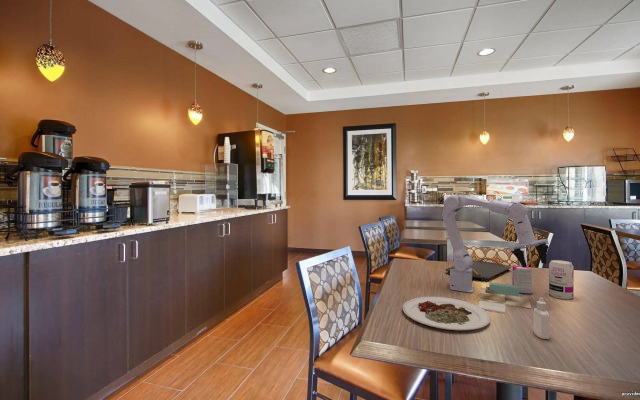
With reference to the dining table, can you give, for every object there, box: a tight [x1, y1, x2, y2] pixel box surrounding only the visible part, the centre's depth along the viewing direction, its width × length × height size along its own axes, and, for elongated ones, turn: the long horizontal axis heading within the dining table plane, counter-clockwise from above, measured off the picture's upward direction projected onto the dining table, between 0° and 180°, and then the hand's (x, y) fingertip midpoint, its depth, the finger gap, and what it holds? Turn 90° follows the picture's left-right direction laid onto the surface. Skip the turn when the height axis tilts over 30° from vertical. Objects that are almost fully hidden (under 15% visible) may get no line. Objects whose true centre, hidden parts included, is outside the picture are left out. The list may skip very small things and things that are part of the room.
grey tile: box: [477, 300, 506, 315], centre depth 117 cm, size 9×9×1 cm
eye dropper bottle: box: [532, 297, 551, 340], centre depth 94 cm, size 4×6×12 cm
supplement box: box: [511, 265, 533, 295], centre depth 134 cm, size 6×6×12 cm
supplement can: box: [548, 259, 575, 301], centre depth 127 cm, size 8×8×15 cm
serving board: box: [445, 257, 512, 283], centre depth 168 cm, size 39×23×6 cm, turn 129°
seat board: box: [478, 286, 532, 310], centre depth 125 cm, size 18×12×4 cm, turn 58°
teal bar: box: [488, 281, 520, 297], centre depth 125 cm, size 10×4×4 cm, turn 58°
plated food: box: [402, 296, 491, 331], centre depth 111 cm, size 30×30×3 cm
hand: (534, 265), depth 120 cm, fingers open, 7 cm apart
